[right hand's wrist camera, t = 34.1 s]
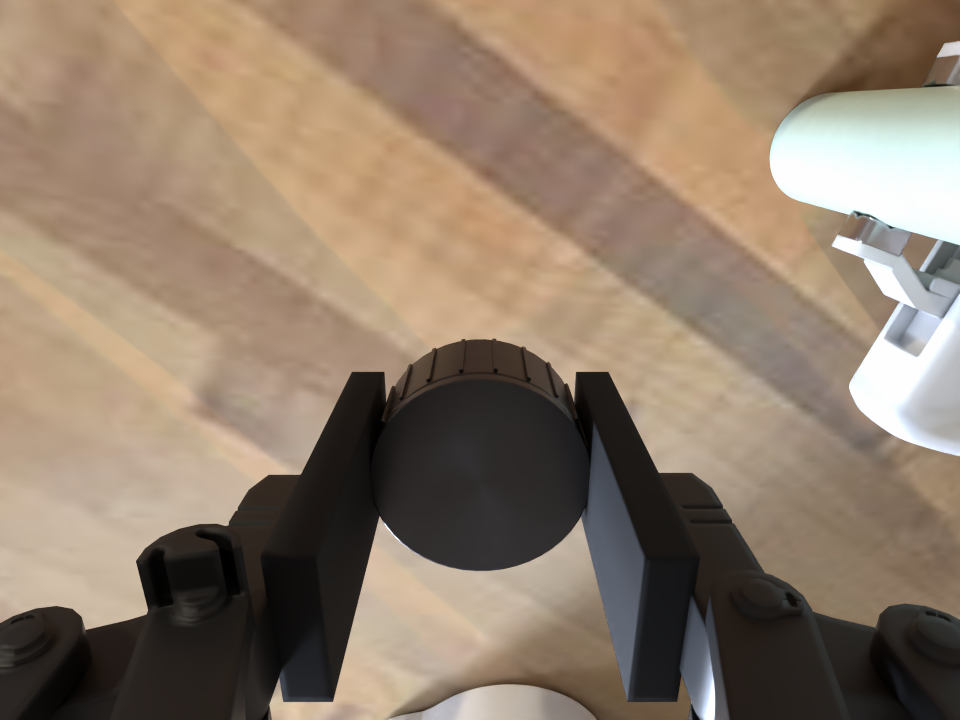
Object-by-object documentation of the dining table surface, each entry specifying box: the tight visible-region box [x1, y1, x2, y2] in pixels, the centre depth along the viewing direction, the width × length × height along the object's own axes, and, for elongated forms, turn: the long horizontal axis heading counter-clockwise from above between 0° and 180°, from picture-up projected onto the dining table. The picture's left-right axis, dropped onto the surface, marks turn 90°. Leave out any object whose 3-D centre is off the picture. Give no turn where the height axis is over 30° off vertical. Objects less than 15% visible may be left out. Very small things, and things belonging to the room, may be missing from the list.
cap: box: [370, 339, 591, 571], centre depth 14 cm, size 5×5×2 cm
